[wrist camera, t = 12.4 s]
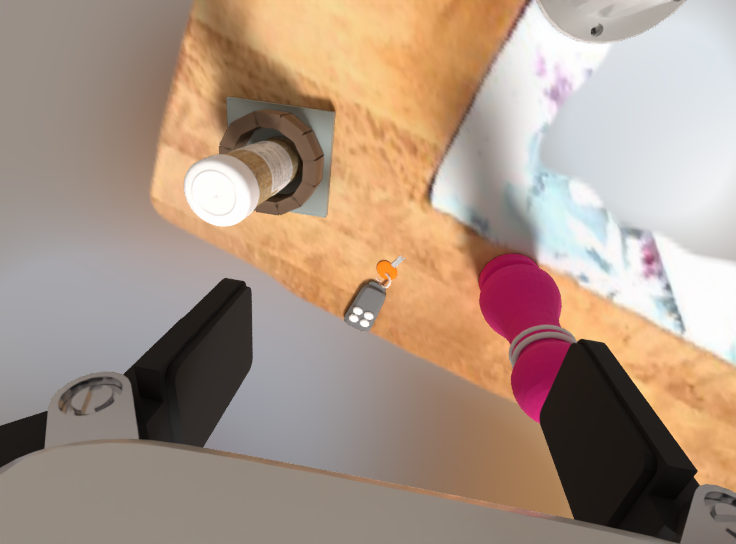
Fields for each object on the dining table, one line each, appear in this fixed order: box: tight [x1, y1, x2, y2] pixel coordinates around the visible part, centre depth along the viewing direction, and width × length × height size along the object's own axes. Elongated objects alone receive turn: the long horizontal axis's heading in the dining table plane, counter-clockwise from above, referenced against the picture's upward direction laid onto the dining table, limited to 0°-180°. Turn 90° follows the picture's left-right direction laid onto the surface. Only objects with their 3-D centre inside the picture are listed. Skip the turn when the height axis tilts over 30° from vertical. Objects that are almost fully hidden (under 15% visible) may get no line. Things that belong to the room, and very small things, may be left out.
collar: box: [219, 97, 335, 218], centre depth 36 cm, size 10×10×4 cm
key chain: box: [344, 256, 406, 331], centre depth 42 cm, size 13×4×2 cm, turn 155°
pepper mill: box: [479, 254, 577, 423], centre depth 31 cm, size 7×7×20 cm
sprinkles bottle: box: [184, 136, 303, 226], centre depth 31 cm, size 5×5×13 cm
